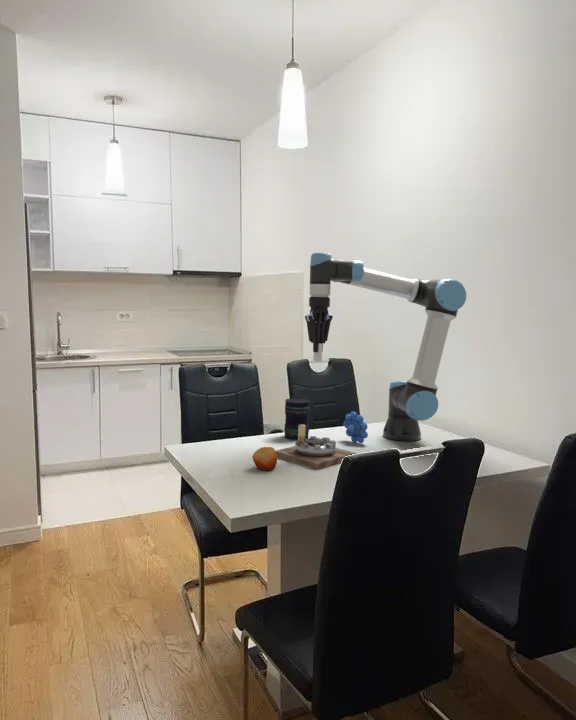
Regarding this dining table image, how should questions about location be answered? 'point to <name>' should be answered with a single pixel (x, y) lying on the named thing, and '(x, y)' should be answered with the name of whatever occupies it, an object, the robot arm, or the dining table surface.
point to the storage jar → (296, 417)
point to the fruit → (265, 458)
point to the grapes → (355, 427)
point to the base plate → (313, 458)
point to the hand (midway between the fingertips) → (317, 361)
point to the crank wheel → (313, 444)
